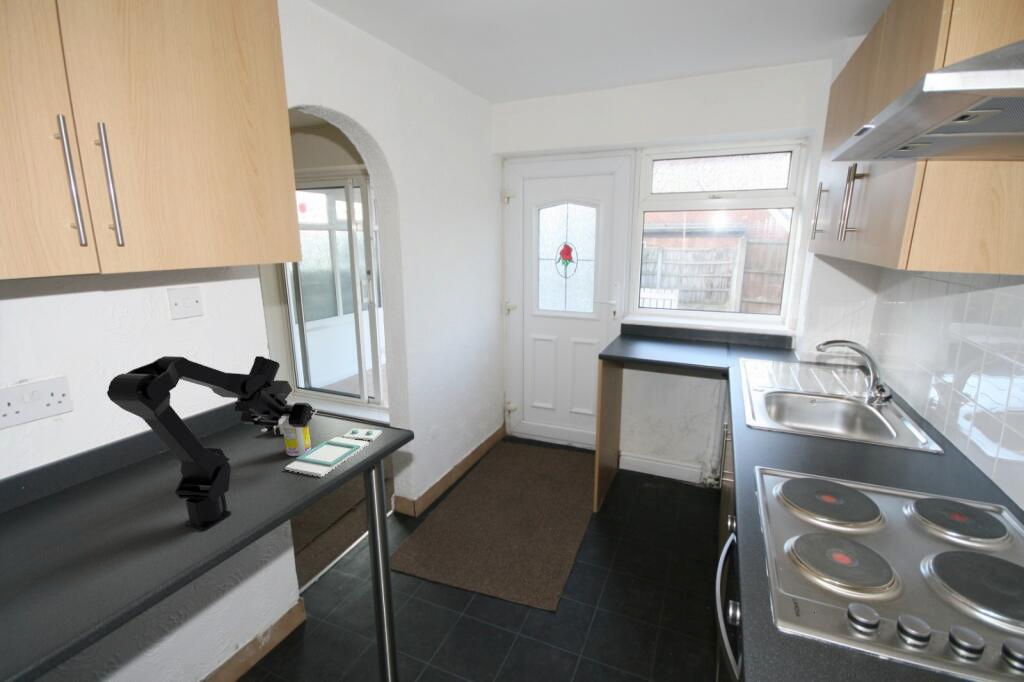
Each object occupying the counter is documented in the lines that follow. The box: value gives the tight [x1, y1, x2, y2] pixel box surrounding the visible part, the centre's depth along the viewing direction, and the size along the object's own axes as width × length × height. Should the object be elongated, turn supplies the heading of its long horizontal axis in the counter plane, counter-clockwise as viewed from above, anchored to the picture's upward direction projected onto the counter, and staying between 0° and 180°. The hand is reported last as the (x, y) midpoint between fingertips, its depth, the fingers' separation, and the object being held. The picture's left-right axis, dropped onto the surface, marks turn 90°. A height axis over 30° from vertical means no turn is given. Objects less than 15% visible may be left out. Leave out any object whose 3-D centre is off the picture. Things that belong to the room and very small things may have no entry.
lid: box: [342, 428, 383, 442], centre depth 147 cm, size 6×10×1 cm, turn 78°
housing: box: [285, 436, 370, 478], centre depth 133 cm, size 20×12×2 cm, turn 160°
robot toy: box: [260, 409, 318, 435], centre depth 154 cm, size 12×4×15 cm
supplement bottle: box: [282, 416, 312, 457], centre depth 135 cm, size 7×7×13 cm
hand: (292, 424), depth 134 cm, fingers open, 9 cm apart
